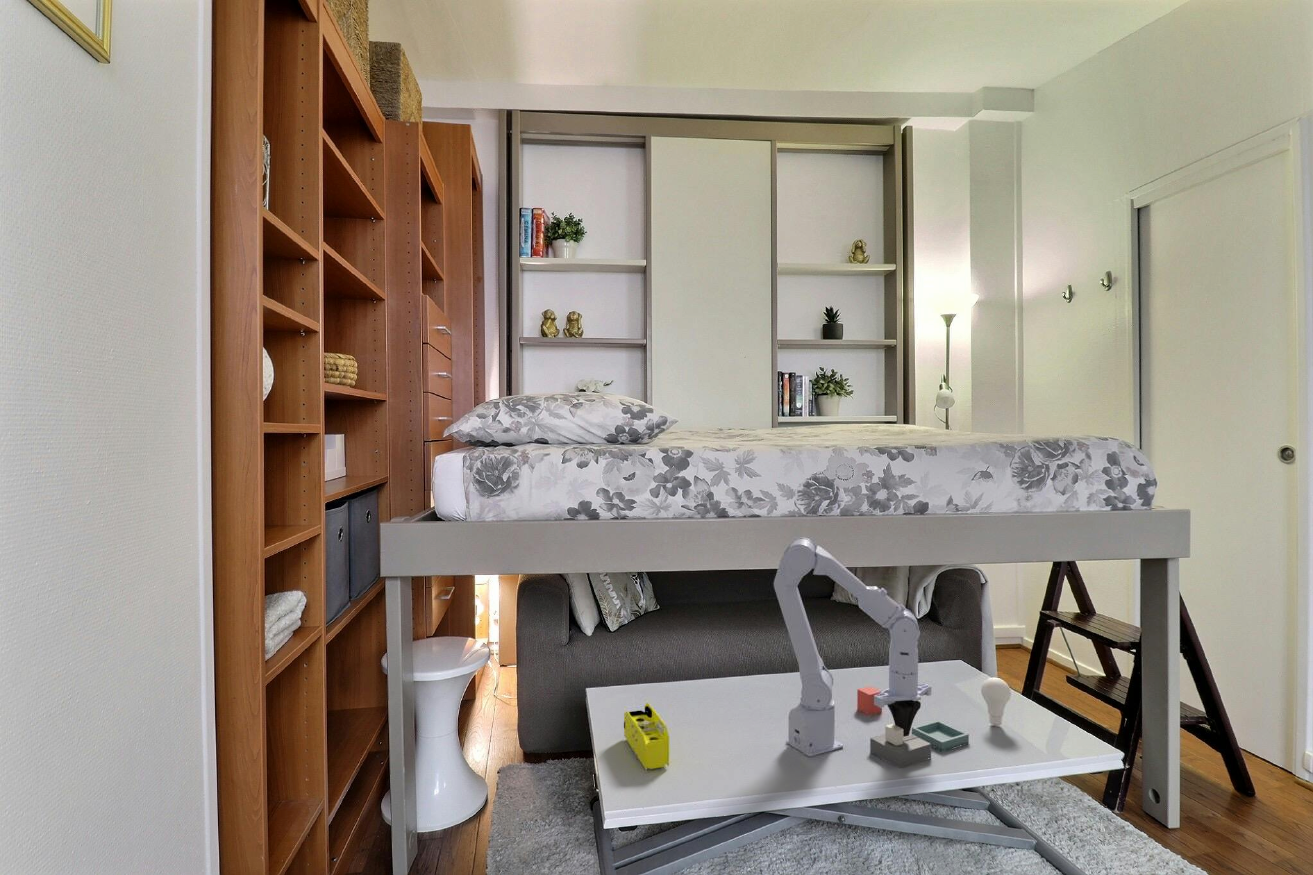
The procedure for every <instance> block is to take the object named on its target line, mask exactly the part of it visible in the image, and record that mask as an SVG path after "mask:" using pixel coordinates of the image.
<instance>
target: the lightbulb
mask: <svg viewBox="0 0 1313 875" xmlns="http://www.w3.org/2000/svg"><path fill="white" fill-rule="evenodd" d="M980 687H981V688H980V689H981V690H980V692H981V695H982V697H983V700H984V702H985V703H986V706H987V713H988V718H989V723H990V724H991V725H992V726H994V727H999V726H1002V723H1003V722H1002V721H1003V716H1004V711H1005V707H1006V705H1007V704H1008V702H1009V701H1010V700H1011V695H1012V692H1011V689H1010V686H1009V685H1008V683H1007V682H1006V681H1005V680H1003V679H1001V678H1000V677H999V678H998V677H994V676H993V677H988V678H987V679H985V680H984V681H983V682H982V685H981V686H980Z"/></svg>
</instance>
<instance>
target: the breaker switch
mask: <svg viewBox="0 0 1313 875" xmlns="http://www.w3.org/2000/svg"><path fill="white" fill-rule="evenodd" d="M884 730H885V731H884V732H885V733H884V734H885V740H886V741H888V742H890V743H892V744H894V745H896V746H897V745H900V744H903V729H902V728H900V727H898V726H896V725H895V723H891V724H886V725H885V728H884Z"/></svg>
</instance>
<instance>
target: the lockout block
mask: <svg viewBox="0 0 1313 875" xmlns="http://www.w3.org/2000/svg"><path fill="white" fill-rule="evenodd" d="M881 692H882V691H881V690H879V689H878V688H877V689H876V688H875V687H873V686H865V687H861V688H857V692H856V693H857V697H856V698H857V700H856V701H857V707H856V708H857V709H856V710H857V711H859V712H861V711H862V713H863V714H865V715H867V716H873V715H877V714H880V713H882V712H883V708H880V707H878V706H876V705H874V695H878V694H880V693H881Z"/></svg>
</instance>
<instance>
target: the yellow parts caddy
mask: <svg viewBox="0 0 1313 875" xmlns="http://www.w3.org/2000/svg"><path fill="white" fill-rule="evenodd" d="M623 716H624V717H623V720H624V721H623V728H624V733H623V736H624V737H625V740H626V741H627V742H628V745H629V746H630V747H631V751H632V752H633V751H634V753H635V754H634V756H635V757H637V758H638V760H639V761H640V763H641V764H642V766H643V767H644V769H645V770H647V769H649V770H653V769H659V768H664V767H665V766H670V735H669V734H670V733H669V732H668V726H667V724H666V722H664V721H663V719H662V718H661V716H660V715H659V714H658V713H657V711H656V710H655V709H654V708H653V707H652V705H651V704H650V703H649V701H648V702H646V704H645V705H644V711H643V710H641V709H640V710H634V711H628V710H626V711H625V712H624V713H623Z"/></svg>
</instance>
